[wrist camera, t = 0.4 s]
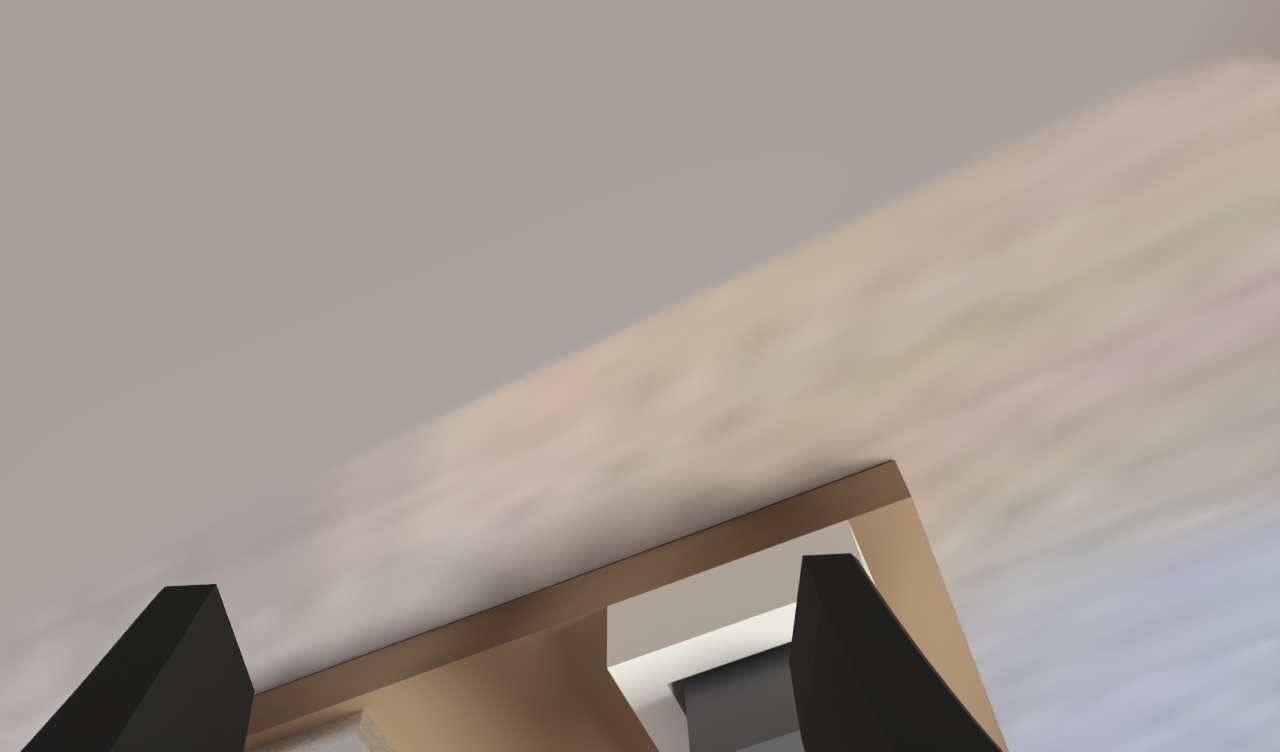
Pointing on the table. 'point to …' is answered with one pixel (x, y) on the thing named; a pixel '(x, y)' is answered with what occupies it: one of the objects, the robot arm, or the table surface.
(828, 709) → the robot arm
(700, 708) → the button
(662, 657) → the frame
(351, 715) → the grey square frame
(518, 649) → the tan flat plate
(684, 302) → the table surface
